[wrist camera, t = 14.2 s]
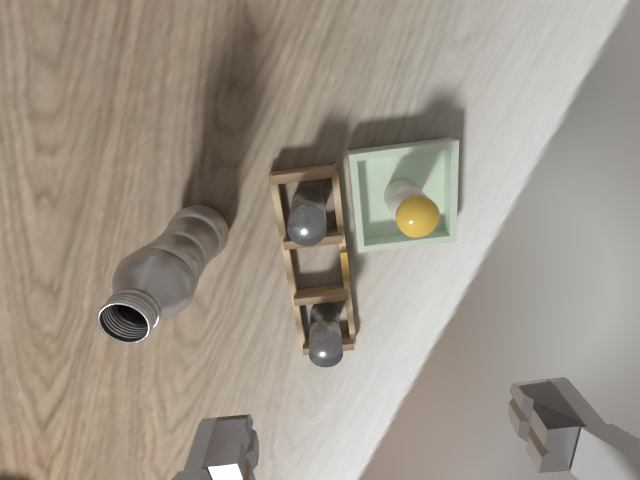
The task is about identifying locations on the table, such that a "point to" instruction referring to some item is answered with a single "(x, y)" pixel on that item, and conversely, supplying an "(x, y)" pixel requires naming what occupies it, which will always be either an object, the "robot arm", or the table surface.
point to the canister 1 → (307, 218)
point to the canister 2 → (325, 335)
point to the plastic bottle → (162, 274)
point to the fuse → (411, 208)
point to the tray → (409, 163)
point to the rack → (332, 237)
